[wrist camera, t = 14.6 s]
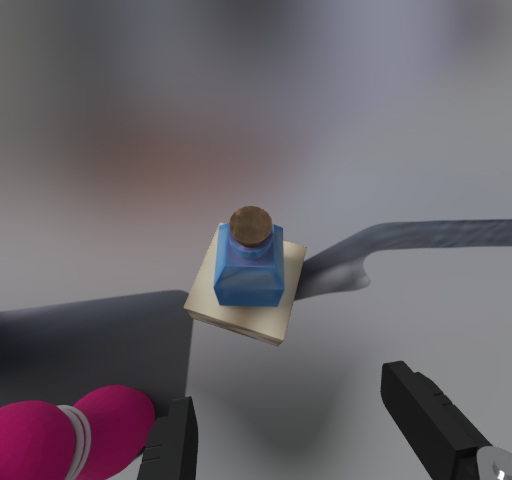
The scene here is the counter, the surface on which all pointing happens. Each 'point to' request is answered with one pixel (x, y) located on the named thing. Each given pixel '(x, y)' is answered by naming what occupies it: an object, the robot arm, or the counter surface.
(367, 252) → the counter surface
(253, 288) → the perfume bottle
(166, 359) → the counter surface
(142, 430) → the pepper mill
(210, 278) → the birch block
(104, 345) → the counter surface
